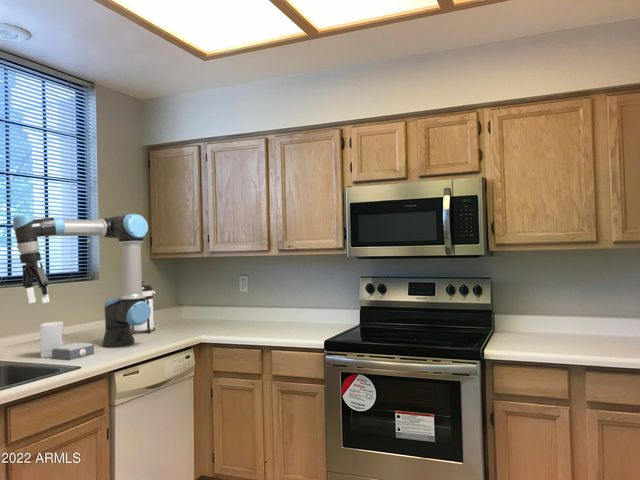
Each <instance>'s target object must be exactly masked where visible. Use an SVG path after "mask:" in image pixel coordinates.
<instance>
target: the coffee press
mask: <svg viewBox="0 0 640 480" xmlns="http://www.w3.org/2000/svg"><path fill="white" fill-rule="evenodd" d="M143 283H144V281H143V280H142V294H143V295H144V296H145V297H146V303H147V304H148V305H149V306H150V309H151V313H150V317H149V319H148V320H147V321H146V322H145V323H144V324H142V325H136V326H132V325H131V332H132V335H135V334H136V332H137V333H138V332H146V333H147V334H148V335H150V334H152V331H153V332H154V331H155V330H156V328H155V326H154V325H155V321H154V294H156V291H155V290H154V288H153V287H152V285H150V284H143Z"/></svg>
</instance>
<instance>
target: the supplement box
mask: <svg viewBox="0 0 640 480" xmlns="http://www.w3.org/2000/svg"><path fill="white" fill-rule="evenodd" d="M64 325H65V324H64V321H53V322H51V321H50V322H43V323H42V324H39V332H40V333H39V337H40V339H39V341H40V343H39V344H40V358H41V359H45V358H46V357H47V358H52V350H54V348H56V347H60V346H65V331H64V330H65V328H64Z"/></svg>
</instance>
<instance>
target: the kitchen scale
mask: <svg viewBox="0 0 640 480" xmlns="http://www.w3.org/2000/svg"><path fill="white" fill-rule="evenodd" d="M94 348H95V346H94V345H93V343H87V342H86V343H83V342H74V343H70V344H64V346H60V347H56V348H54V350H52V357H51V359H52V360H60V361H61V360H62V361H64V360H65V361H72V360H75V359H80V358H85V357H88V356H92V355H94V354H95V349H94Z"/></svg>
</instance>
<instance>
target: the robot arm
mask: <svg viewBox="0 0 640 480" xmlns="http://www.w3.org/2000/svg"><path fill="white" fill-rule="evenodd" d="M12 222H13V223H12V224H13V229H14V233H15V234H14V235H15V238H16V244H17V246H16V249H18V250H17V251H18V253H19V259H20V260H19V261H20V264H23V265H21V268H22V287H23V288H25V292H26V298H27V302H28V304H32V303H36V302H37V299H36V296H35V295H36V294H35V289H34V285H33V283H34V281H33V280H34V278H35V280H36V282H37V284H38V288H39V293H40V294H39V295H40V299H41V304H46V303H51V301H50V296H49V290H48V285H50V282H49V279H48V277H47V274H46V273H45V270H44V267H43V263H42V262H38V261H41V260H42V257H41V252H40V245H39V241H38V240H39V239H38V238H40V237H42V238H43V237H44V238H45V237H79V236H80V237H85V236H86V237H87V236H88V237H89V236H90V237H91V236H93V237H94V236H96V237H99V238H106V239H107V238H109V239H116V240H117V239H118V243H119V244H120V245H121V246H122V247H121V248H122V250H121V251H122V252H121V253H122V283H123V285H122V287H123V289H122V290H123V295H122V296H120V298H113V299H108V300H105V302H104V307H103V309H104V321H105V325H104V326H105V330H104V334H103V339H102V341H101V346H102V347H104V348H116V347H117V348H119V347H127V346H129V345H133V344H135V337H134V334H132V333H133V331H132V332H131V330H132V328H131V327H132V326H136V325H142V324H144V323H145V322H146V321H147V320H148V319H149V317H150V313H151V309H150V306H149V305H148V304H147V303H146V297H145V296H144V295H143V294H142V281H143V273H142V247H141V246H142V244H143V243H144V241H145V236H146V235H147V234H148V232H149V224H148V221H147V220H146V219H145V217H144V216H143V215H140V214H135V213H130V214H124V215H122V214H121V215H116V216H111V217H100V218H98V219H63V218H62V217H60V216H56V217H55V216H53V217H52V216H51V217H45V218H44V217H43V218H38V219H36V218H35V217H34V215H32V214H24V215H19V216H15V217H14V218H13V219H12Z"/></svg>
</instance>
